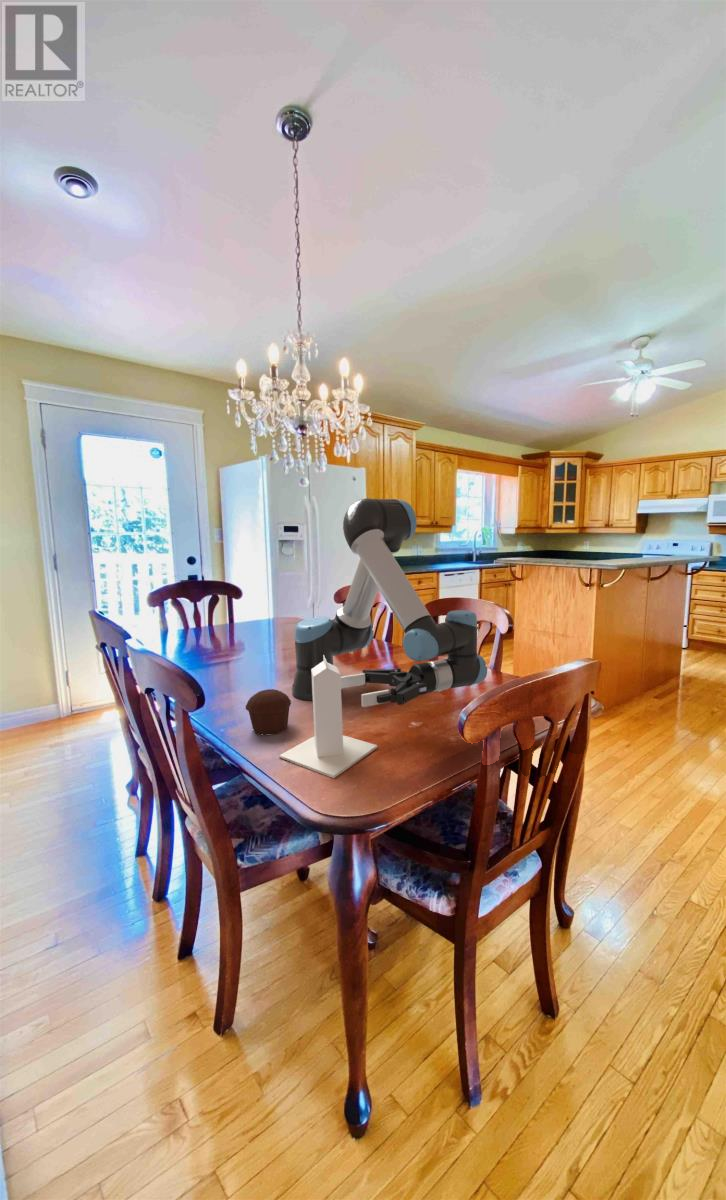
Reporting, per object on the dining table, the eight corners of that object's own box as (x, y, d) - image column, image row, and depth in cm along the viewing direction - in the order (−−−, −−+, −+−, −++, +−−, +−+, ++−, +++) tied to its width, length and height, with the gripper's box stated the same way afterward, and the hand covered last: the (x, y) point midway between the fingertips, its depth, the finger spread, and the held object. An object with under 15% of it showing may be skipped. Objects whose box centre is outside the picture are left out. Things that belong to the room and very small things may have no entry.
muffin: (286, 716, 128) (284, 681, 126) (298, 731, 118) (296, 694, 117) (243, 725, 123) (240, 689, 122) (251, 741, 113) (248, 702, 112)
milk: (339, 743, 109) (336, 653, 106) (343, 755, 104) (340, 660, 100) (314, 746, 108) (310, 655, 105) (316, 758, 102) (312, 662, 99)
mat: (325, 732, 117) (325, 729, 117) (377, 747, 108) (377, 745, 108) (279, 757, 104) (279, 755, 104) (333, 778, 95) (333, 775, 95)
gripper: (459, 708, 103) (373, 726, 95) (405, 677, 126) (332, 690, 118) (458, 676, 102) (372, 692, 94) (405, 651, 125) (331, 662, 117)
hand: (350, 691), depth 106 cm, fingers open, 13 cm apart
